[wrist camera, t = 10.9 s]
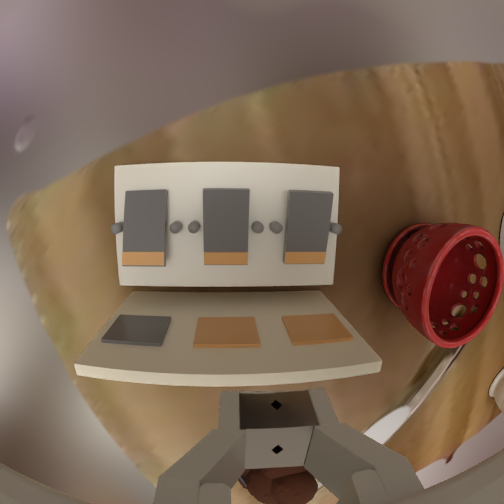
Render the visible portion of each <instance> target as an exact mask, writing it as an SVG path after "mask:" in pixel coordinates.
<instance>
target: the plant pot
mask: <svg viewBox="0 0 504 504" xmlns="http://www.w3.org/2000/svg"><path fill="white" fill-rule="evenodd" d="M478 241H479V242H481V243H482V245H483V246H482V245H480V244H479V243H478ZM468 244H470V245H471V246H472V248H470V247H469V246H468ZM477 254H481V255H483V256H484V257H485V259H486V263H487V265H486V267H485V269H480V268H479V267H478V265H477V262H476V255H477ZM471 274H475V275H476V282H475V283H474V284H472V283H471V282H470V275H471ZM484 276H485V277H486V278H487V281H488V283H487V285H486V287H483V286H482V283H481V281H482V278H483V277H484ZM382 278H383V286H384V289H385V292H386V294H387V296H388V298H389V299H390V300H391V302H392V303H393V304H394V305H395V306H397V307H398V308H400V309H401V311H402V312H403V314H404V315H405V317H406V318H407V319H408V321H409V322H410V323H411V324H412V325H413V326H414V327H415V328H416V329H417V330H418V331H419V332H420V333H421V334H422V335H423V336H425V337H426V338H427V339H428V340H430V341H431V342H432V343H434V344H435V345H437V346H439V347H442V348H455V347H458V346H461V345H463V344H465V343H467V342H468V341H470V340H471V339H473V338H474V337H475V336H476V335H477V334H479V333H480V331H481V330H482V329H483V328H484V327H485V325H486V324H487V323H488V321H489V320H490V318H491V316H492V314H493V313H494V310H495V308H496V306H497V303H498V301H499V298H500V295H501V291H502V286H503V280H504V262H503V256H502V252H501V249H500V247H499V244H498V242H497V241H496V239H495V238H494V236H493V235H492V234H491V233H490V232H488V231H487V230H486V229H484V228H481V227H478V226H474V225H468V224H458V223H441V224H435V225H432V224H427V223H420V224H415V225H412V226H410V227H408V228H406V229H405V230H404V231H402V232H401V233H400V234H399V235H398V236H397V237H396V238H395V239H394V241H393V242H392V244H391V245H390V247H389V249H388V251H387V254H386V256H385V260H384V264H383V271H382ZM464 291H467V296H466V297H465V298H462V293H463V292H464ZM476 292H479V297H478V298H477V299H475V298H474V295H475V293H476ZM461 304H462V305H465V306H466V312H465V313H464V315H463V316H461V317H454V316H452V314H451V313H452V311H453V309H454V308H455V307H456V306H458V305H461ZM473 307H477V308H478V309H477V311H476V312H475V313H472V312H471V311H472V309H473ZM442 322H448V324H447V325H444V324H442ZM432 326H434V327H436V328H433V327H432ZM453 327H458V328H459V330H457V331H452V330H450V329H451V328H453Z"/></svg>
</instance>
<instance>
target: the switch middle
mask: <svg viewBox="0 0 504 504" xmlns="http://www.w3.org/2000/svg"><path fill="white" fill-rule="evenodd" d="M249 197H250V189H249V188H203V240H204V265H248V230H249Z"/></svg>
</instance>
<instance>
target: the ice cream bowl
mask: <svg viewBox="0 0 504 504" xmlns="http://www.w3.org/2000/svg"><path fill="white" fill-rule="evenodd" d="M238 481H239V482H240V484H241V485H242V486H243V488H246V489H248V491H249V492H250V494H251V495H253V496H254V497H255V498H256V499H257V500H258V501H260V502H262V503H265V504H306V503H307V502H309V501H310V500H312V499H313V497H314V495H315V493H316V491H317V489H318V484H317V482H316V480H315V478H314V476H313V475H312V474H311V473H310V472H309V471H308V470H306V469H305V468H304V466H294V467H274V468H258V469H245V471H244V472H243V474H242V475H241V476H240V478H239V479H238Z"/></svg>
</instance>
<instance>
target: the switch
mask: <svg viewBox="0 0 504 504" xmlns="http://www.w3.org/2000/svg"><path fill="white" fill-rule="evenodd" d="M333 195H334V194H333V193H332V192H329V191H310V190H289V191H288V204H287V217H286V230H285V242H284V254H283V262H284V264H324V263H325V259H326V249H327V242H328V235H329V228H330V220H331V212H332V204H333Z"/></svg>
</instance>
